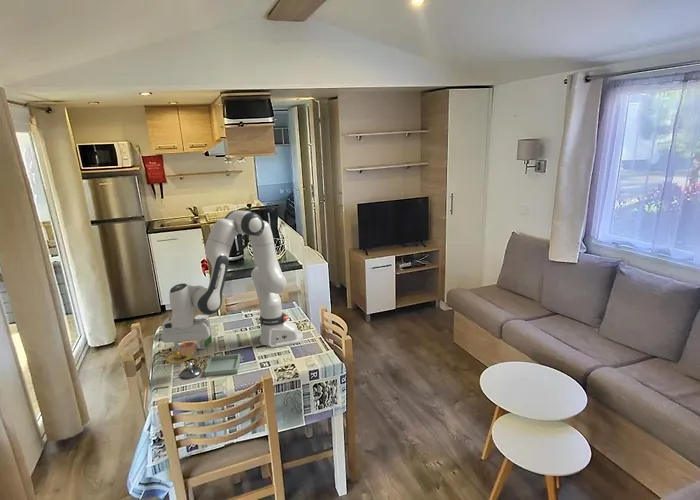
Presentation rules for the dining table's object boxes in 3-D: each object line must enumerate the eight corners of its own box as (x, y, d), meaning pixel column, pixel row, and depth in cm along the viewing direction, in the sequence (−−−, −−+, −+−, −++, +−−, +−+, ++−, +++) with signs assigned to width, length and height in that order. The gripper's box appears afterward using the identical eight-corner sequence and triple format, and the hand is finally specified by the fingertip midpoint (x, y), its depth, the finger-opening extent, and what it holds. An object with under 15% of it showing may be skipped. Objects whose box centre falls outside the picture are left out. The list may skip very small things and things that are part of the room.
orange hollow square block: (197, 345, 195) (196, 340, 194) (194, 352, 189) (193, 347, 188) (183, 347, 194) (182, 341, 194) (179, 354, 188) (178, 348, 188)
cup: (167, 354, 213) (166, 344, 212) (193, 350, 217) (191, 340, 215) (165, 365, 202) (163, 355, 201) (192, 361, 206) (190, 351, 204)
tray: (240, 358, 207) (240, 353, 206) (237, 373, 193) (236, 369, 193) (210, 361, 205) (210, 356, 204) (205, 376, 192) (204, 372, 191)
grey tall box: (204, 350, 216) (200, 321, 212) (192, 349, 217) (188, 320, 213) (212, 342, 224) (209, 314, 220) (201, 341, 225) (197, 314, 221)
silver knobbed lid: (203, 367, 200) (202, 357, 198) (199, 378, 191) (197, 367, 190) (183, 369, 198) (181, 359, 197) (178, 379, 190) (176, 369, 188)
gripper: (209, 315, 192) (213, 342, 196) (162, 319, 190) (167, 347, 193) (206, 321, 186) (211, 349, 190) (158, 325, 184) (163, 354, 187)
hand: (188, 348), depth 192 cm, fingers closed on orange hollow square block, 6 cm apart
